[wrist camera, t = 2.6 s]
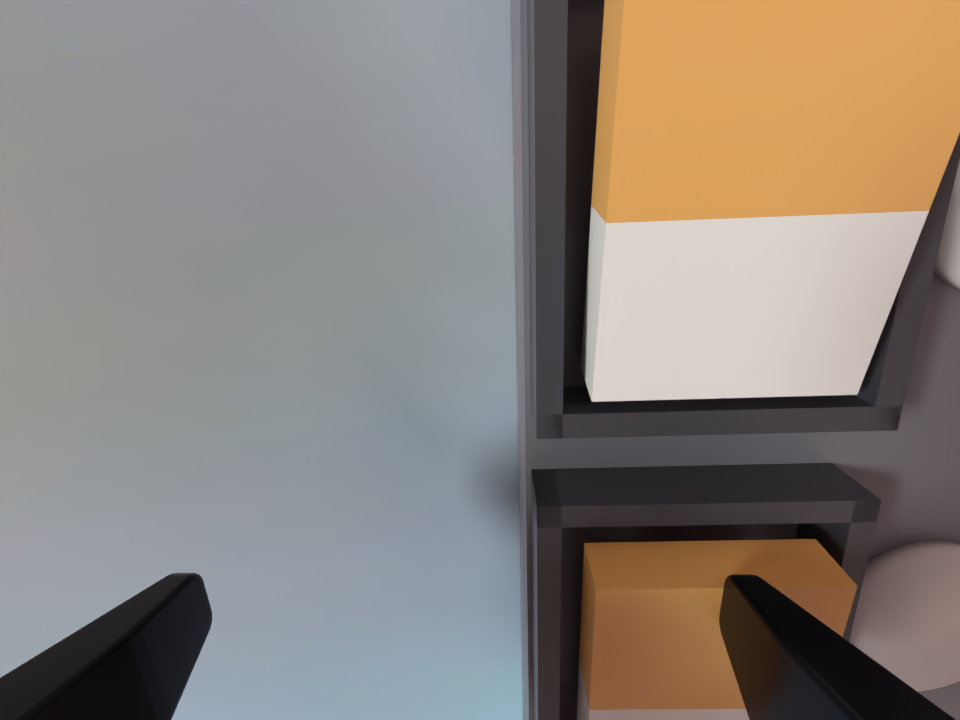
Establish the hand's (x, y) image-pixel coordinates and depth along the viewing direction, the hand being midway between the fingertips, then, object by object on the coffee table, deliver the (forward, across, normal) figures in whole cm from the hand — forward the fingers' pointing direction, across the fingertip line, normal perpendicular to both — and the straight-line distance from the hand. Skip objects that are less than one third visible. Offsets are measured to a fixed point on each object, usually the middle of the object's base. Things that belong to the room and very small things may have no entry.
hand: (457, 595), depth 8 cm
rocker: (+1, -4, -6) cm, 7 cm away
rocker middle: (+1, -4, +2) cm, 5 cm away
